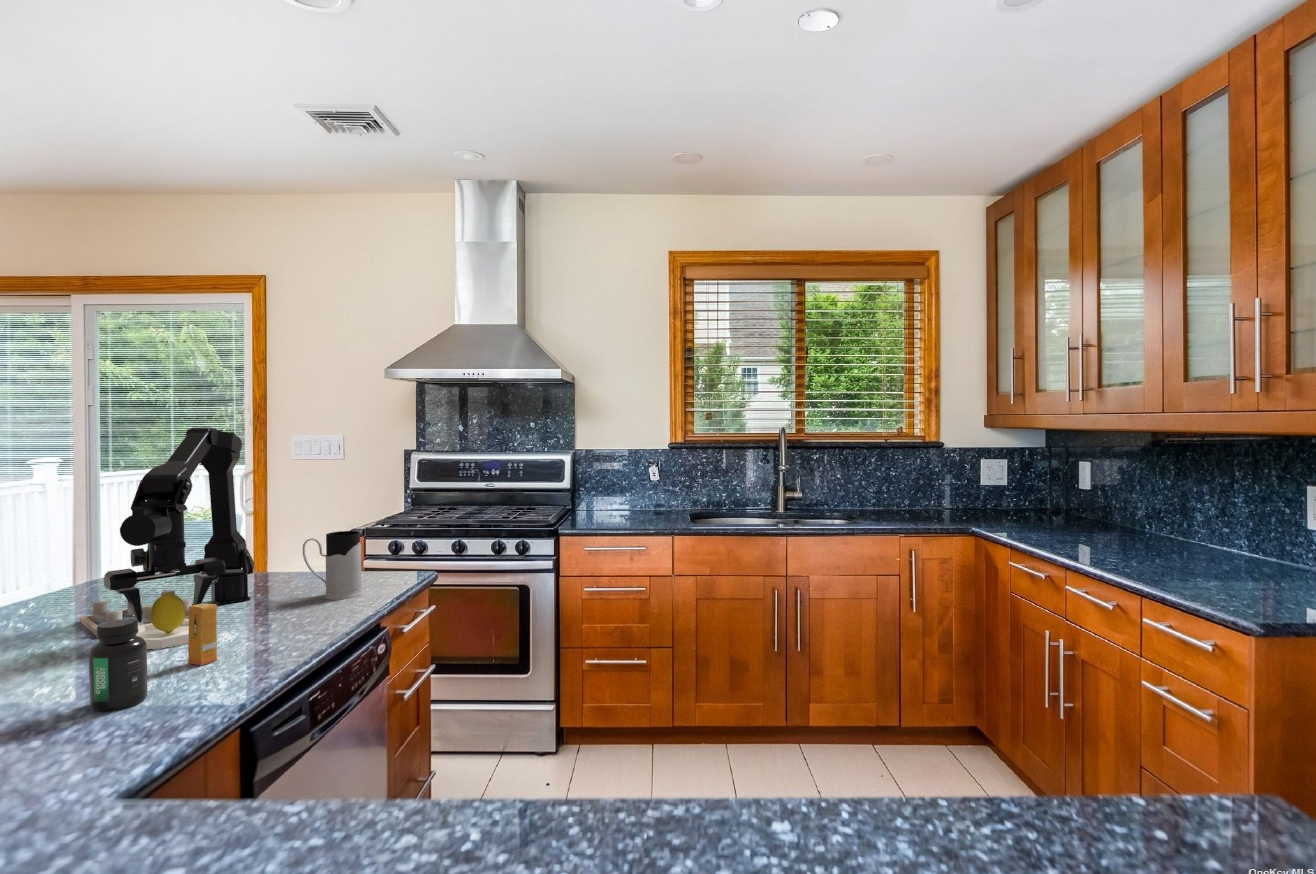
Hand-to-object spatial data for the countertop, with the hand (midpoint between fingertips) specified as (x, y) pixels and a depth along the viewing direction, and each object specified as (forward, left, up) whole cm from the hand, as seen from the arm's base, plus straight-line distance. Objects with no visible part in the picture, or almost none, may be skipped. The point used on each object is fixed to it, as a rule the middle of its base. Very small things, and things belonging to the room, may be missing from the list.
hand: (168, 617), depth 136 cm
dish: (0, 0, -4) cm, 4 cm away
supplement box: (0, +21, -4) cm, 21 cm away
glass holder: (-36, -10, -4) cm, 38 cm away
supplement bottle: (+14, +32, -4) cm, 35 cm away
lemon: (0, 0, -4) cm, 4 cm away
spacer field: (0, -19, -4) cm, 19 cm away
